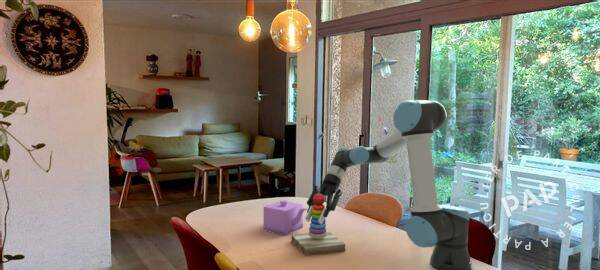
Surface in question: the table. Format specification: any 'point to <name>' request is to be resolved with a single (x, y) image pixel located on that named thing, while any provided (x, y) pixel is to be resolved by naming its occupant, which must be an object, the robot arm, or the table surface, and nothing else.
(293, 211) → the teapot
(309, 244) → the wooden square board
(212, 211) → the table surface
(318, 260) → the table surface
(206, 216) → the table surface
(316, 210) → the stacking toy
